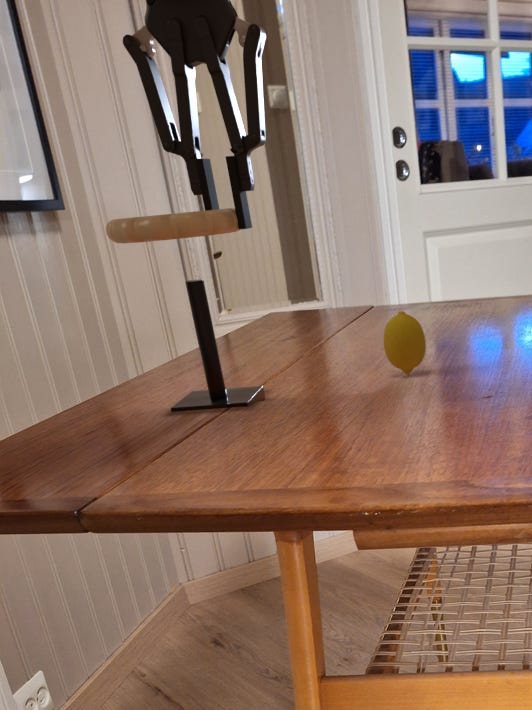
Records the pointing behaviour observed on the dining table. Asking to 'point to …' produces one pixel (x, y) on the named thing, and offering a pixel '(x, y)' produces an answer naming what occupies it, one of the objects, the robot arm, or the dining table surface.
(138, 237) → the lying ring
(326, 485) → the dining table surface
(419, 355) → the lemon
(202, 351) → the black peg stand
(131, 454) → the dining table surface
